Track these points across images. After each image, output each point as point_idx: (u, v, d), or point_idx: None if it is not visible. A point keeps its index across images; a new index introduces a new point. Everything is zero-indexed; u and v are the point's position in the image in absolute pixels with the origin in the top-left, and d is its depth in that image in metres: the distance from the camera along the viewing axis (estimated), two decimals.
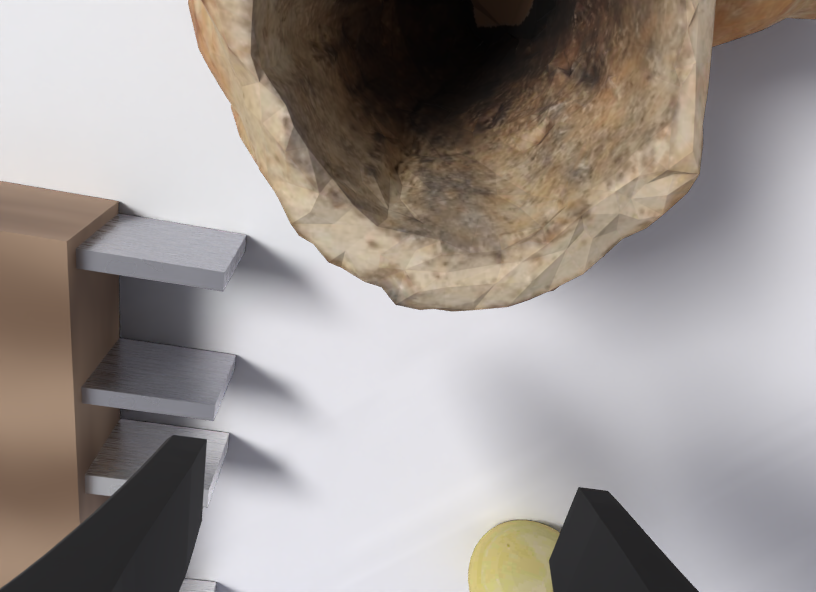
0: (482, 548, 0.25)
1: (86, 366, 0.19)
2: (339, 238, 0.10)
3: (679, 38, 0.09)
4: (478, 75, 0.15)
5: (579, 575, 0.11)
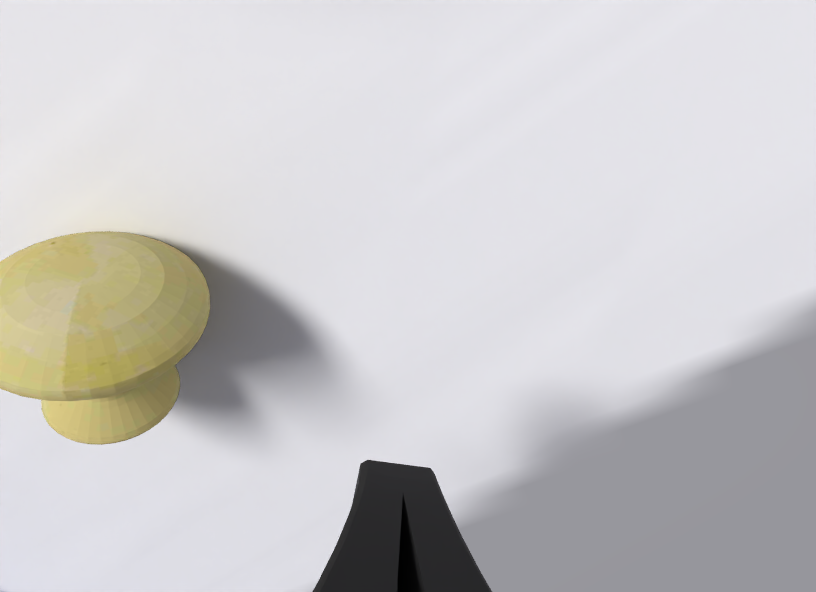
0: (15, 253, 0.15)
1: None
2: None
3: None
4: None
5: None
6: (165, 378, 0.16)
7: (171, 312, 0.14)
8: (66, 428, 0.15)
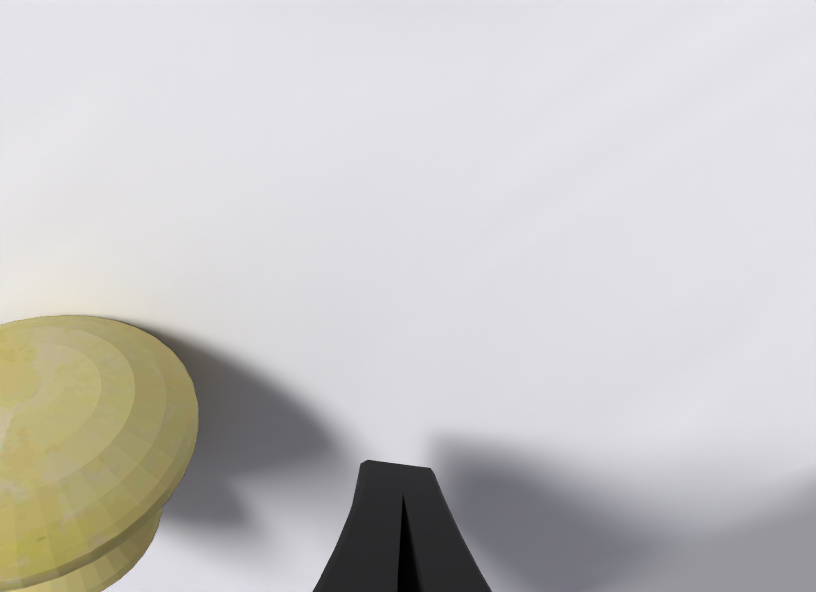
0: None
1: None
2: None
3: None
4: None
5: None
6: None
7: (143, 447, 0.10)
8: None
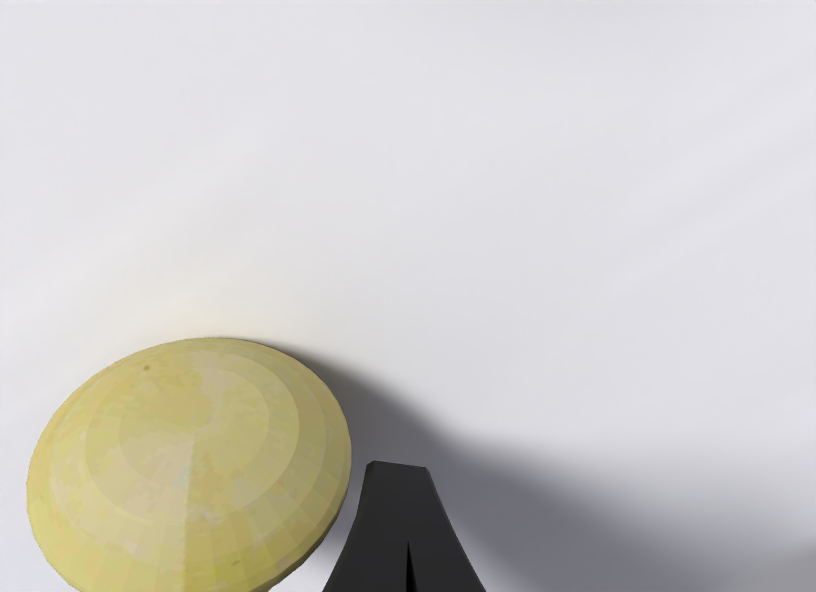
0: (95, 379, 0.11)
1: None
2: None
3: None
4: None
5: None
6: None
7: (314, 470, 0.10)
8: None
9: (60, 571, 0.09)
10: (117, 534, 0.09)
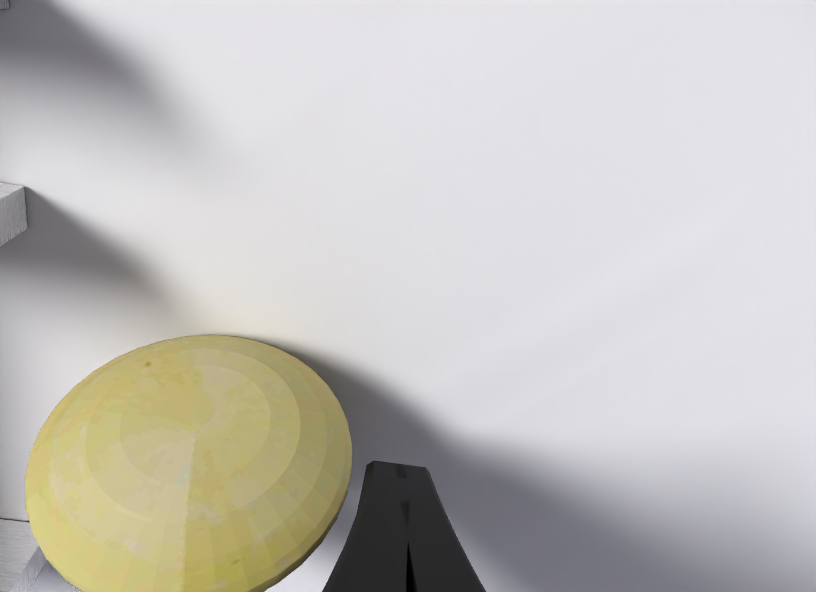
0: (95, 374, 0.11)
1: None
2: None
3: None
4: None
5: None
6: None
7: (315, 470, 0.10)
8: None
9: (58, 567, 0.09)
10: (117, 531, 0.09)
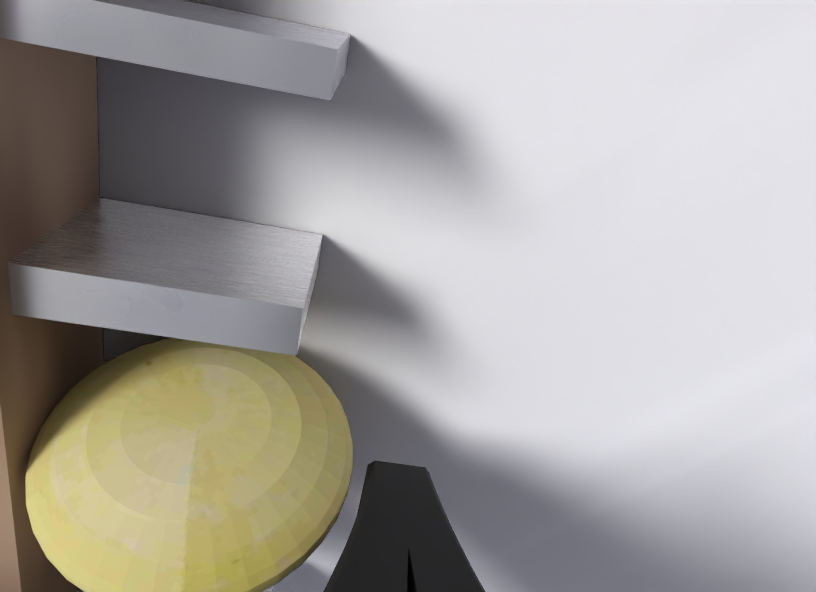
0: (96, 373, 0.11)
1: None
2: None
3: None
4: None
5: None
6: None
7: (315, 470, 0.10)
8: None
9: (59, 566, 0.09)
10: (117, 530, 0.09)
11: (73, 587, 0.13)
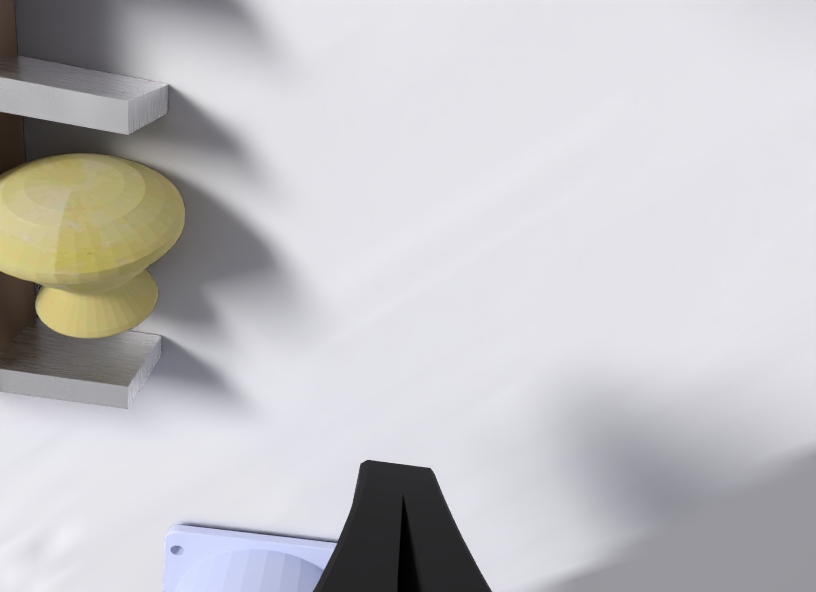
0: (16, 167, 0.17)
1: None
2: None
3: None
4: None
5: None
6: (145, 287, 0.19)
7: (149, 218, 0.16)
8: (57, 322, 0.17)
9: None
10: (17, 231, 0.15)
11: (6, 337, 0.19)
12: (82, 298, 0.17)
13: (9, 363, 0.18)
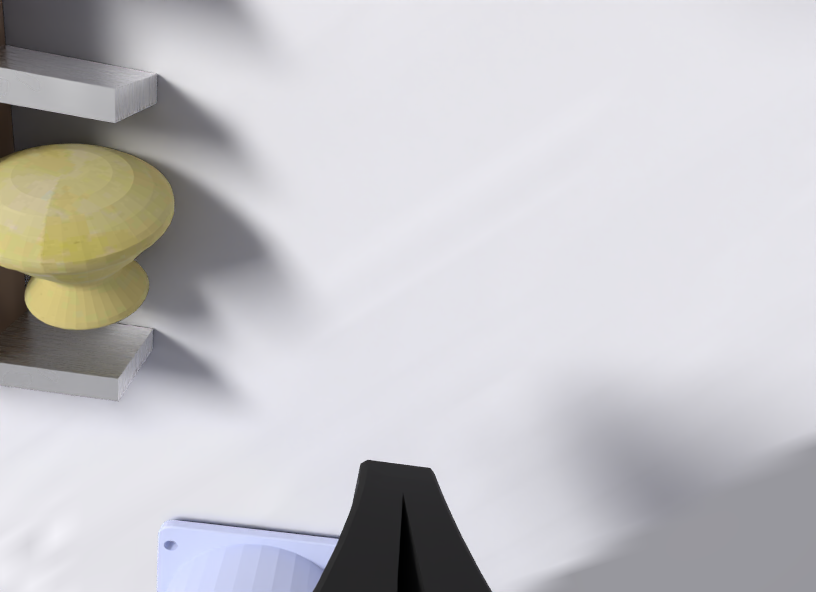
0: (3, 157, 0.17)
1: None
2: None
3: None
4: None
5: None
6: (135, 279, 0.18)
7: (138, 207, 0.16)
8: (45, 314, 0.17)
9: None
10: (3, 220, 0.15)
11: None
12: (71, 289, 0.17)
13: None
